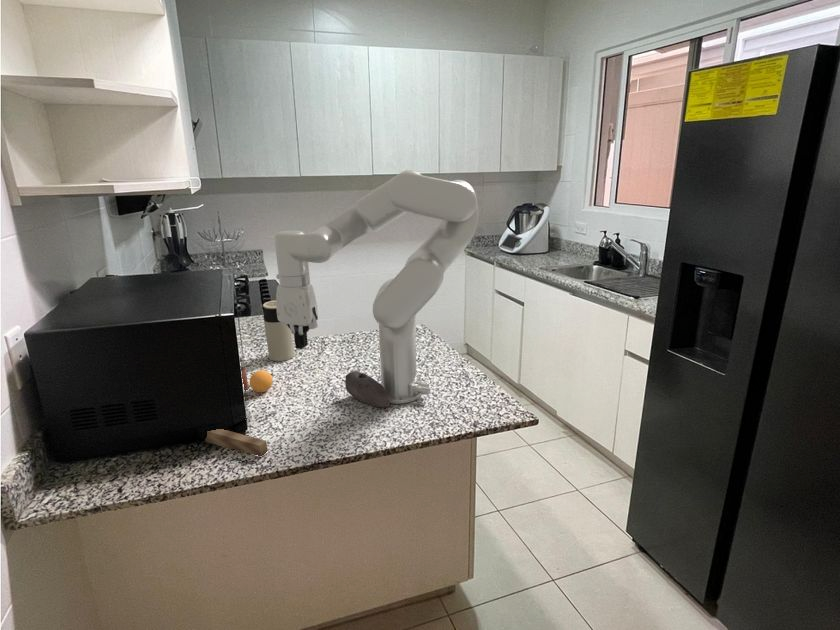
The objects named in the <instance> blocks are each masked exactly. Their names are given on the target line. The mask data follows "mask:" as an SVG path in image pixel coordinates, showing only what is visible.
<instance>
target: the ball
mask: <svg viewBox="0 0 840 630" xmlns="http://www.w3.org/2000/svg"><path fill="white" fill-rule="evenodd" d="M273 380H274V379H273V376H272V375H271V374H270V372H268V371H267V370H262V369H261V370H257V371H255V372H253V373H252V375H251V376H250V378H249V387H250V388H252V390H253V391H255V392H257V393H264V392H268V391H269V390H270V389H271V387H272V386H273Z"/></svg>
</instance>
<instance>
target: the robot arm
mask: <svg viewBox="0 0 840 630" xmlns="http://www.w3.org/2000/svg"><path fill="white" fill-rule="evenodd" d="M478 204H479V203H478V197H477V193H476V192H475V189H474V188H473V186H472V185H471V184H470V183H468V182H467V181H465V180H461V179H454V180H452V181H451V180H446V179H443V178H442V179H441V178H437V177H436V178H435V177H432V176H427V175H422V174H421V173H419V172H418V171H417V170H411V169H408V170H404V171H401V172H399V173H398V174H396V175H395V176H393V177H392V178H390V179H389V180H388V181H386V182H384V183H383V184H381V185H379V186H378V187H377V188H374V189H373V190H372V191H370V192H369V193H367V194H366V195H364V196H363V197H361V198H360V199H359V198H358V200H357V201H356V202H354V203H353V204H352V205H351V206H350V207H349V208H348V209H346V210H345V211H344V212H342V213H341V214H339V215H338V216H336V217H335V218H333V219H331V220H330V221H329V222H327V223H325V224H324V225H322V226H321V227H319V228H317V229H316V230H314V231H311V232H309V233H304V232H303V231H301V230H298V229H297V230H294V229H292V230H282V231H281V230H280V231H278V232H277V233H276V234H275V235H274V247H275V255H276V263H277V264H276V265H277V272H278V273H277V274H276V279H277V280H279V281H278V282H279V284H278V285H277V287H276V292H275V293H276V295H275V297H276V298H275V300H276V308H277V318H278V320H279V321H280V322H281V323H282V324H284V325H286V326H288V327H289V328H290V329H291V332H292V335H293V338H294V340H293V341H294V345H295V346H294V349H297V350H303V349H304V348H305V347H307V346H308V342H309V341H308V332H309V331H310V330H313V329H316V328H318V322H317V321H318V319H319V311H318V303H317V299H316V294H315V291H314V286H313V284H311V278H310V277H311V276H310V268H309V267H310V266H309V263H313V264H323V263H327V261H329V260H330V259H331V258H332V257H333V256H335V254H337V253H338V252H339V251H341V250H342V249H344V248H345V247H347V246H348V245H350V244H352V243H353V242H355V241H357V240H358V239H360V238H361V237H363V236H365V235H368V234H372V233H373V234H374V233H376V232H378V231H379V230H382V229H383V228H384V227H386V226H387V225H389V224H391V223H392V222H394V221H395V220H397V219H400V217H402V216H404V215H405V214H407V213H410V214H414V215H418V216H423V217H429V218H433V219H439V220H441V221H440V223H439V224H438V226H437V227H436V228H435V229H434V230H433V231H432V233H431V234H430V236H428V238H426V240H425V241H424V242H423V243H422V244H421V245H420V246H419V247H418V248H417V249H416V250H415V251H414V252H413V253H412V254H411V255H410V256H409V257H408V258H407V260H406V261H405V264H404V267H402V269H401V270H400V271H399V272H398V274H396V276H395V277H394V278H391V279H388V280H386V281H385V282H384V283H383V284H382V285H381V286H380V288H379V289H378V290H377V293H376V296H375V298H374V301H373V303H372V314H373V315H372V316H373V318H374V320H375V322H376V323H377V324H378V339H379V340H378V342H379V359H380V360H379V361H380V362H379V363H380V381H381V382H380V384H381V385H382V386H383V387H384V388H385V390H386V391H387V392H388V394H389V397H390V404H396V405H397V404H398V405H400V404H401V405H402V404H407V403H411V402H414V401H417V400H418V399H419V398H420V397H421V396H422V395H426V396H430V393H431V388H430V384H429V383H426V382H424V383H423V382H422V381H421V376H419V375H417V347H416V346H417V344H416V343H417V337H416V336H417V335H416V334H417V333H416V329H417V328H416V327H417V326H416V315H417V314H418V313H419V312H420V311H421V310H423V308H424V306H425V305H427V303H428V302H430V300H432V298H433V297H434V296H435V295H436V294H437V292H439V289H440V288H441V286H442V284H443V281H444V275H445V272H446V271H447V269H449V268H450V266H451V265H452V264H453V263H455V261H456V260H457V259H458V258H459V257H460V255H461V254H462V253H463V251H464V250H465V249H466V248H467V246H469V244H470V242H472V239H473V237H474V236H475V233H476V232H477V231H476V230H477V227H478V223H479V213H480V212H479V205H478Z"/></svg>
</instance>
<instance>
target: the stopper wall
mask: <svg viewBox="0 0 840 630" xmlns="http://www.w3.org/2000/svg"><path fill="white" fill-rule="evenodd" d="M205 441H206V442H205ZM205 441H204V442H205V443H210V444H213V445H217V446H220V447H223V448H226V449H230V450H233V449H234V451H237V452H240V451H241V452H240V453H244V452H245V453H244V454H247V453H250V454H249V455H251V454H254V455H258V456H262V455H264V454H265V453H266V452H267V451H268V444H267V440H264V439H260V438H257V437H253V436H249V435H245V434H242V433H237V432H234V431H231V430H229V429H228V430H224V429H216V430H211V431H207V437H206V439H205ZM268 452H269V451H268ZM254 455H253V456H254ZM264 456H265V455H264Z"/></svg>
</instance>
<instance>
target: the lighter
mask: <svg viewBox="0 0 840 630" xmlns="http://www.w3.org/2000/svg"><path fill="white" fill-rule="evenodd" d="M239 357H240V362H241V371H242V379H243V384H244V390H245V392H247V391H246V390H248V389H249V390H250V384H248V375H247V371H246V370H247V369H246V368H247V365H246V363H244V362H243V357H242V356H239ZM249 390H248V391H249Z"/></svg>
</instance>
